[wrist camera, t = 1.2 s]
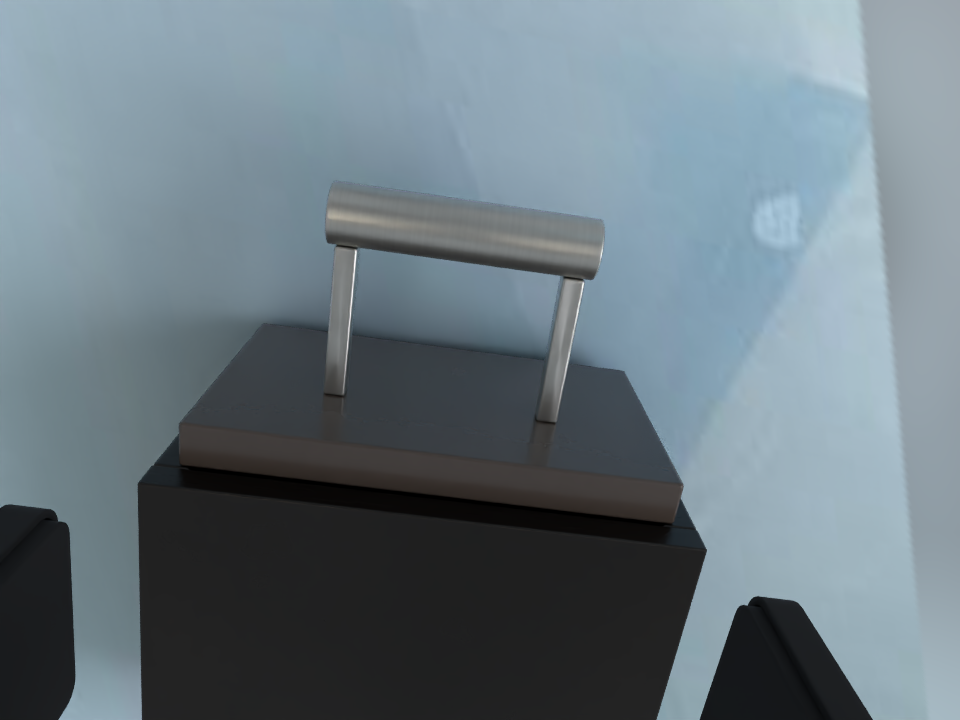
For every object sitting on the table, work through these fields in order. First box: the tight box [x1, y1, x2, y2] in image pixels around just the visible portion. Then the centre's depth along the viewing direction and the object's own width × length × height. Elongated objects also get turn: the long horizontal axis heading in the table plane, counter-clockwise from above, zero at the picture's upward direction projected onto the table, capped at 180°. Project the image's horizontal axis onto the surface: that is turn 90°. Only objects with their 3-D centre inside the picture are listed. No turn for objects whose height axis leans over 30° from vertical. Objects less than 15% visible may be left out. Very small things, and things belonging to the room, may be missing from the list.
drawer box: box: [138, 434, 707, 720], centre depth 25 cm, size 16×14×10 cm
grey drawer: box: [179, 181, 684, 524], centre depth 24 cm, size 20×13×8 cm, turn 172°
